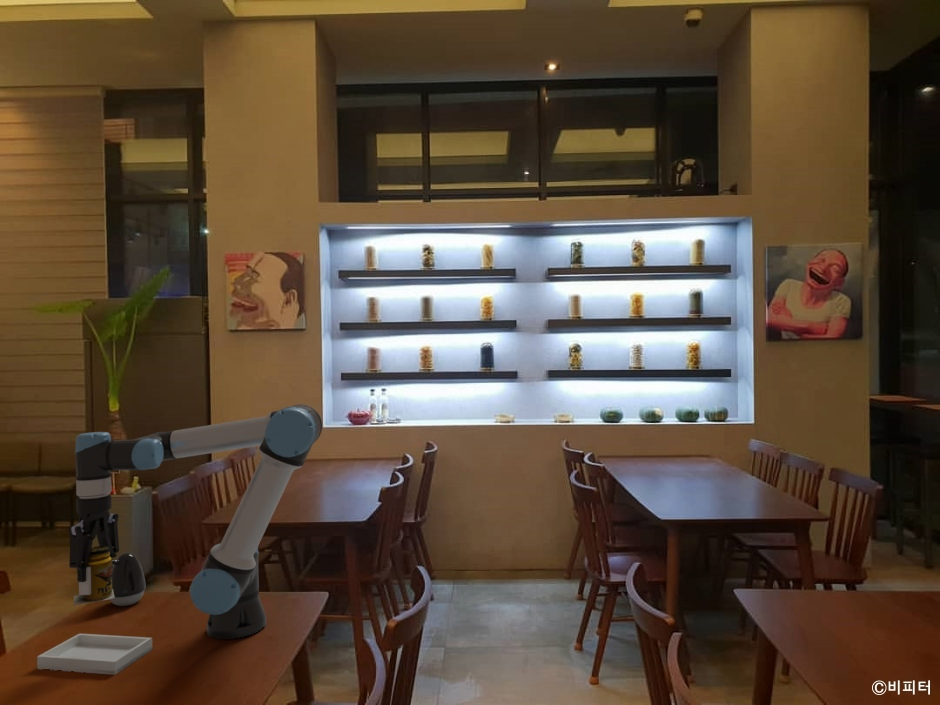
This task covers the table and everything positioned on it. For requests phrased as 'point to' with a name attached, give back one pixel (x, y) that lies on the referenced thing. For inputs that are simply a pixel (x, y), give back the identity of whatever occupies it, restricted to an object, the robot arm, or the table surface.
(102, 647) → the white tray
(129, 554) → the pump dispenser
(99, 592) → the condiment
